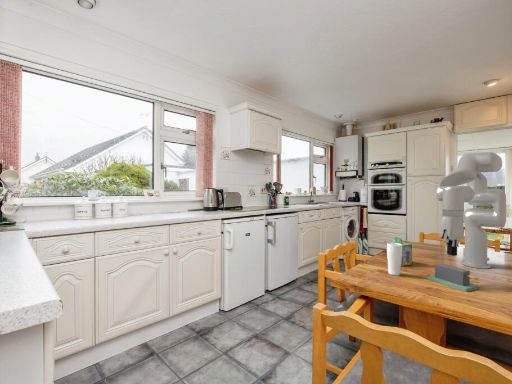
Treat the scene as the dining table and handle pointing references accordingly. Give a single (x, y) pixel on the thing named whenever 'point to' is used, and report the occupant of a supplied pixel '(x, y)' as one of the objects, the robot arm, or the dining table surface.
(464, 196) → the robot arm
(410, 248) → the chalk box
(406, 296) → the dining table surface
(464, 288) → the header strip
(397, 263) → the white cup
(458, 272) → the block
